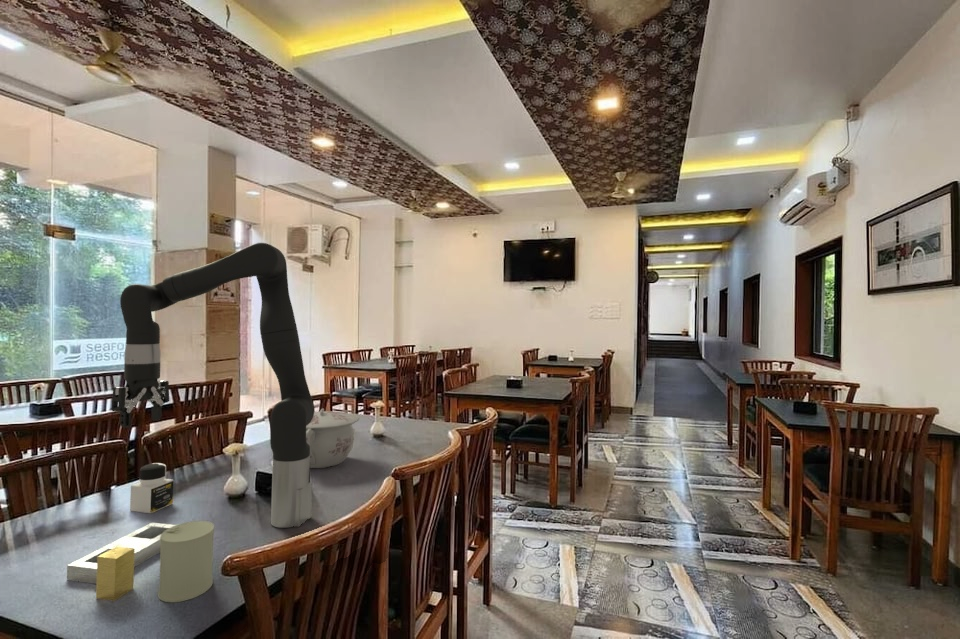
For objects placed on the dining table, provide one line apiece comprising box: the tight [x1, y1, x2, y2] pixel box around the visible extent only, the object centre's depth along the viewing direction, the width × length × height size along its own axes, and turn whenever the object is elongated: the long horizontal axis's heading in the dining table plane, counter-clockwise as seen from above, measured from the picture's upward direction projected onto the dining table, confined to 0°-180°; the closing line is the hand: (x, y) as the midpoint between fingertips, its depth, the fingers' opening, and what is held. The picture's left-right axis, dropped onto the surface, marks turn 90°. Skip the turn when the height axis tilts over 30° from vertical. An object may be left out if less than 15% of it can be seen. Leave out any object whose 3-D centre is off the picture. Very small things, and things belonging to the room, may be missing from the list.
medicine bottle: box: [129, 462, 174, 514], centre depth 128 cm, size 7×7×12 cm
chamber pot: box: [306, 408, 360, 469], centre depth 170 cm, size 28×28×21 cm
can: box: [157, 520, 215, 603], centre depth 90 cm, size 9×9×12 cm
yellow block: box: [95, 546, 135, 602], centre depth 88 cm, size 4×4×8 cm
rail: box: [66, 522, 177, 585], centre depth 101 cm, size 9×20×3 cm, turn 172°
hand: (141, 423), depth 117 cm, fingers open, 8 cm apart
